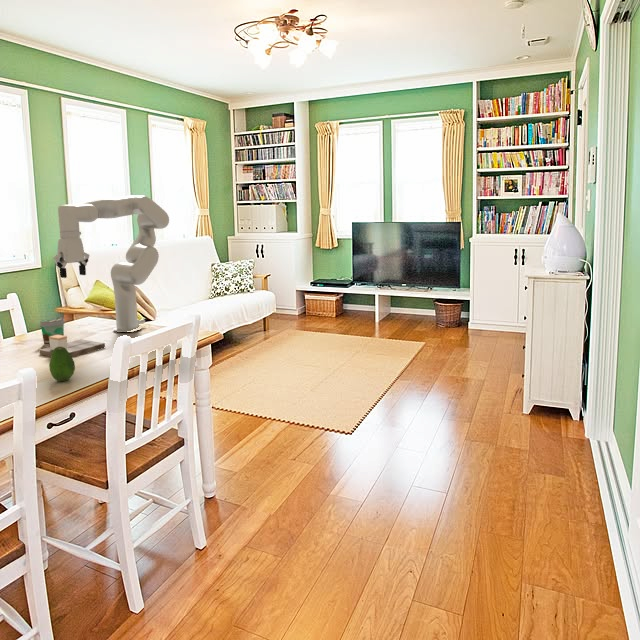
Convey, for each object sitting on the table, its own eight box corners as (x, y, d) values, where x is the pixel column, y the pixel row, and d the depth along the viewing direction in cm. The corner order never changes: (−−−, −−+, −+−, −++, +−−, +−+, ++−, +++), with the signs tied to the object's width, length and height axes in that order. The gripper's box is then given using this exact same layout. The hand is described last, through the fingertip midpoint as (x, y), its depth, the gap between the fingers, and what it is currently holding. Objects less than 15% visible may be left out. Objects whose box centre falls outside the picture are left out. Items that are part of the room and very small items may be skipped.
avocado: (45, 383, 194) (42, 348, 192) (59, 376, 202) (56, 343, 199) (67, 385, 193) (64, 350, 190) (81, 378, 201) (78, 344, 198)
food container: (54, 346, 243) (52, 322, 240) (41, 345, 244) (39, 322, 242) (72, 339, 254) (70, 316, 252) (60, 338, 256) (58, 316, 254)
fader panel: (81, 343, 247) (81, 339, 246) (105, 347, 240) (104, 342, 240) (39, 354, 229) (39, 349, 229) (64, 359, 223) (63, 354, 223)
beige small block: (58, 347, 232) (57, 334, 231) (67, 349, 229) (66, 336, 228) (49, 349, 228) (48, 336, 227) (59, 351, 226) (58, 338, 225)
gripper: (80, 233, 250) (83, 273, 254) (45, 235, 235) (49, 278, 239) (93, 234, 247) (96, 274, 250) (58, 236, 232) (61, 279, 235)
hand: (73, 276), depth 244 cm, fingers open, 9 cm apart
